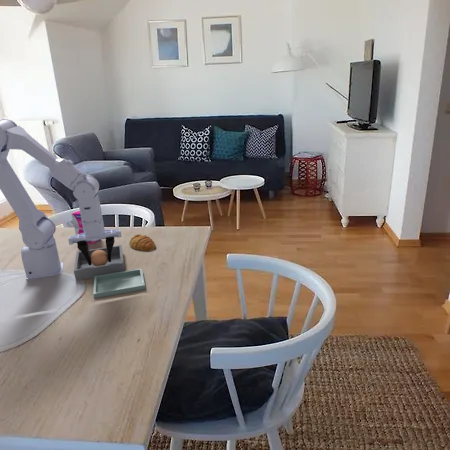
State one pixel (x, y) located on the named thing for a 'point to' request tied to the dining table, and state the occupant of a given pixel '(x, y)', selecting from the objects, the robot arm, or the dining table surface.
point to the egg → (99, 258)
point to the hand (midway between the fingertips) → (100, 262)
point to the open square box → (89, 271)
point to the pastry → (142, 243)
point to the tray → (118, 283)
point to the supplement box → (79, 224)
